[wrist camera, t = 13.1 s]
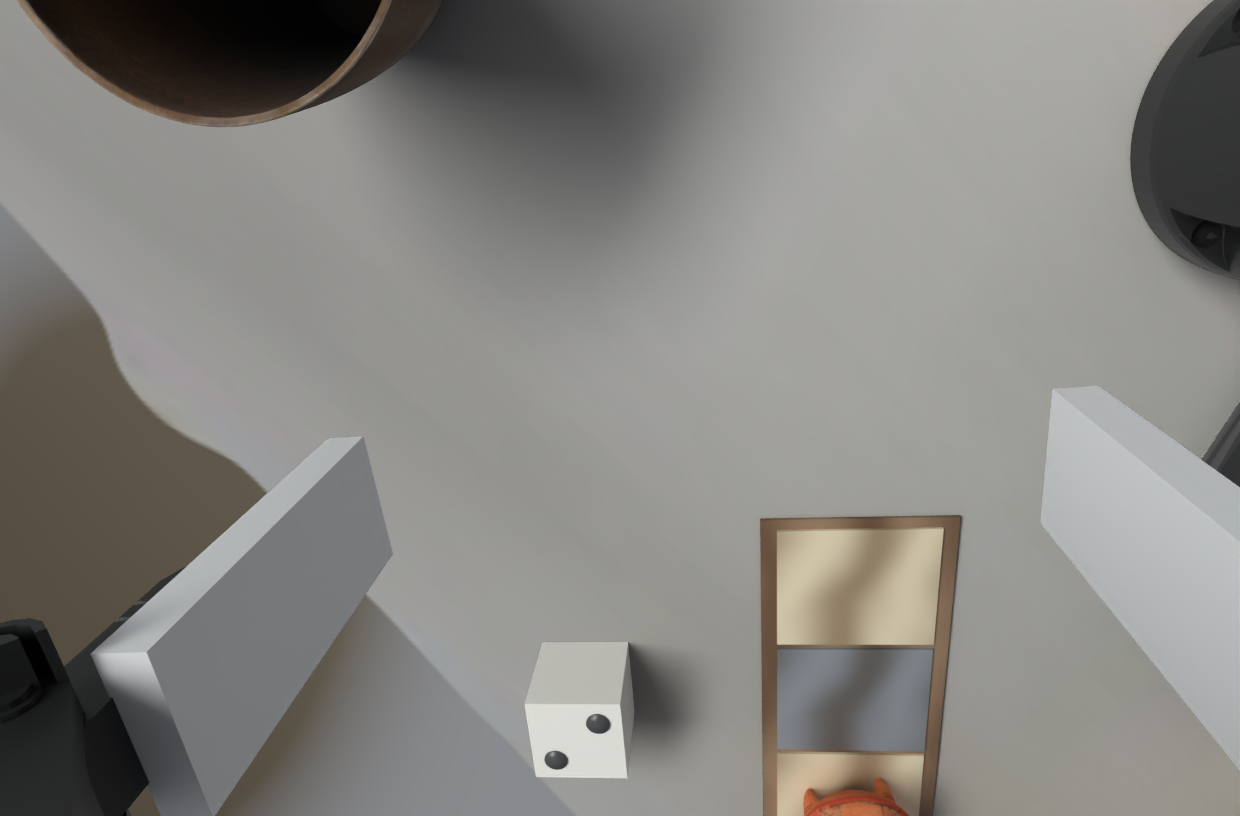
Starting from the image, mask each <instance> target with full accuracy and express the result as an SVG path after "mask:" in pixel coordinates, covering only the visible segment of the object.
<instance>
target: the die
mask: <svg viewBox="0 0 1240 816" xmlns="http://www.w3.org/2000/svg"><path fill="white" fill-rule="evenodd" d="M525 709H526V716H527V722H528V728H529V735H530V741H531V748H532V754H533V760H534V767H535V773H536V777H574V778H628V769H629V760H630V750H631V741H632V731H633V722H634V712H635V710H634V699H633V689H632V678H631V667H630V656H629V646H628V642H564V643H542V646H541V649H540V653H539V656H538V660H537V663H536V666H535V670H534V673H533V677H532V680H531V684H530V687H529V691H528V694H527V698H526V701H525Z"/></svg>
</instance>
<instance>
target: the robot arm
mask: <svg viewBox="0 0 1240 816" xmlns="http://www.w3.org/2000/svg"><path fill="white" fill-rule="evenodd" d="M1130 160H1131V175H1132V182H1133V187H1134V192H1135V195H1136V198H1137V202H1138V204H1139V207H1140V209H1141V211H1142V213H1143V215H1144V217H1145V219H1146V221H1147V223H1148V224H1149V226H1150V227H1151V229H1152V230H1153V231H1154V233H1155V234H1156V235H1157V236H1158V238H1159V239H1160V240H1161V241H1162V242H1163V243H1164V244H1165V245H1166V246H1167V247H1169V248H1170V249H1171V250H1172V251H1173V252H1175V253H1176V254H1177V255H1179V256H1180V257H1182V258H1184V259H1185V260H1187V261H1189V262H1191V263H1193V264H1195V265H1197V266H1199V267H1202V268H1204V269H1207V270H1210V271H1213V272H1216V273H1219V274H1222V275H1225V276H1228V277H1231V278H1235V279H1238V280H1240V0H1214V1H1213V2H1211V3H1210V4H1209V5H1208V6H1207V7H1206V8H1204V9H1203V10H1202V11H1201V12H1200V13H1199V14H1198V15H1197V16H1196V17H1195V18H1194V19H1193V20H1192V21H1191V22H1190V23H1189V24H1188V26H1187V27H1186V28H1185V29H1184V30H1183V31H1182V32H1181V34H1180V35H1179V36H1178V37H1177V38H1176V40H1175V41H1174V42H1173V44H1172V45H1171V46H1170V48H1169V49H1168V51H1167V52H1166V54H1165V55H1164V57H1163V58H1162V60H1161V61H1160V63H1159V65H1158V66H1157V68H1156V70H1155V72H1154V73H1153V75H1152V77H1151V79H1150V81H1149V83H1148V86H1147V88H1146V90H1145V93H1144V95H1143V97H1142V100H1141V103H1140V106H1139V109H1138V112H1137V116H1136V120H1135V124H1134V129H1133V134H1132V142H1131V157H1130ZM1040 523H1041V524H1042V526H1043V527H1044V528H1045V529H1046V531H1047V532H1048V533H1049V534H1050V535H1051V537H1052V538H1053V539H1054V540H1055V542H1056V543H1057V544H1058V545H1059V547H1060V548H1061V549H1062V550H1063V552H1064V553H1065V554H1066V555H1067V557H1068V558H1069V559H1070V560H1071V562H1072V563H1073V564H1074V565H1075V567H1076V568H1077V569H1078V570H1079V571H1080V573H1081V574H1082V575H1083V576H1084V578H1085V579H1086V580H1087V581H1088V583H1089V584H1090V585H1091V586H1092V588H1093V589H1094V590H1095V591H1096V593H1097V594H1098V595H1099V596H1100V598H1101V599H1102V600H1103V601H1104V603H1105V604H1106V605H1107V606H1108V608H1109V609H1110V610H1111V611H1112V612H1113V614H1114V615H1115V616H1116V617H1117V619H1118V620H1119V621H1120V622H1121V624H1122V625H1123V626H1124V627H1125V629H1126V630H1127V631H1128V632H1129V634H1130V635H1131V636H1132V637H1133V639H1134V640H1135V641H1136V642H1137V644H1138V645H1139V646H1140V647H1141V648H1142V650H1143V651H1144V652H1145V653H1146V655H1147V656H1148V657H1149V658H1150V660H1151V661H1152V662H1153V663H1154V665H1155V666H1156V667H1157V668H1158V670H1159V671H1160V672H1161V673H1162V675H1163V676H1164V677H1165V678H1166V680H1167V681H1168V682H1169V683H1170V684H1171V686H1172V687H1173V688H1174V689H1175V691H1176V692H1177V693H1178V694H1179V696H1180V697H1181V698H1182V699H1183V701H1184V702H1185V703H1186V704H1187V706H1188V707H1189V708H1190V709H1191V711H1192V712H1193V713H1194V714H1195V716H1196V717H1197V718H1198V719H1199V720H1200V722H1201V723H1202V724H1203V725H1204V727H1205V728H1206V729H1207V730H1208V732H1209V733H1210V734H1211V735H1212V737H1213V738H1214V739H1215V740H1216V742H1217V743H1218V744H1219V745H1220V747H1221V748H1222V749H1223V750H1224V752H1225V753H1226V754H1227V755H1228V756H1229V758H1230V759H1231V760H1232V761H1233V763H1234V764H1235V765H1236V766H1237V768H1238V769H1239V770H1240V403H1239V404H1238V406H1237V407H1236V409H1235V410H1234V412H1233V413H1232V415H1231V416H1230V418H1229V419H1228V421H1227V422H1226V424H1225V425H1224V427H1223V428H1222V430H1221V431H1220V433H1219V434H1218V436H1217V437H1216V439H1215V440H1214V442H1213V443H1212V445H1211V446H1210V448H1209V449H1208V451H1207V452H1206V454H1205V455H1204V457H1203V458H1202V460H1201V459H1200V458H1198V457H1197V456H1195V455H1194V454H1193V453H1191V452H1190V451H1188V450H1187V449H1186V448H1184V447H1183V446H1181V445H1180V444H1179V443H1177V442H1176V441H1174V440H1173V439H1172V438H1170V437H1169V436H1167V435H1166V434H1165V433H1163V432H1162V431H1160V430H1159V429H1158V428H1156V427H1155V426H1153V425H1152V424H1151V423H1149V422H1148V421H1147V420H1145V419H1144V418H1142V417H1141V416H1140V415H1138V414H1137V413H1135V412H1134V411H1133V410H1131V409H1130V408H1128V407H1127V406H1126V405H1124V404H1123V403H1121V402H1120V401H1119V400H1117V399H1116V398H1114V397H1113V396H1112V395H1110V394H1109V393H1107V392H1106V391H1105V390H1103V389H1102V388H1100V387H1099V386H1088V387H1074V388H1059V389H1053V391H1052V402H1051V412H1050V423H1049V434H1048V445H1047V456H1046V467H1045V478H1044V489H1043V500H1042V511H1041V522H1040ZM392 554H393V552H392V548H391V544H390V540H389V537H388V533H387V529H386V525H385V521H384V517H383V513H382V509H381V505H380V501H379V497H378V493H377V489H376V485H375V481H374V477H373V473H372V469H371V465H370V461H369V457H368V453H367V449H366V445H365V441H364V437H363V436H361V437H347V438H332V439H327V440H326V441H325V442H324V443H323V444H321V445H320V446H319V447H318V448H317V449H316V450H315V451H314V452H313V453H312V454H310V455H309V456H308V457H307V458H306V459H305V460H304V461H303V462H302V463H300V464H299V465H298V466H297V467H296V468H295V469H294V470H293V471H292V472H291V473H289V474H288V475H287V476H286V477H285V478H284V479H283V480H282V481H281V482H280V483H278V484H277V485H276V486H275V487H274V488H273V489H272V490H271V491H270V492H268V493H267V494H266V495H265V496H264V497H263V498H262V499H261V500H260V501H259V502H258V503H256V504H255V505H254V506H253V507H252V508H251V509H250V510H249V511H248V512H246V513H245V514H244V515H243V516H242V517H241V518H240V519H239V520H238V521H236V523H234V524H233V525H232V526H231V527H230V528H229V529H228V530H227V531H225V532H224V533H223V534H222V535H221V536H220V537H219V538H218V539H217V540H215V541H214V542H213V543H212V544H211V545H210V546H209V547H208V548H207V549H206V550H205V551H204V552H203V553H201V554H200V555H199V556H198V557H197V558H196V559H195V560H193V561H192V562H191V563H190V564H189V565H187V566H185V567H184V568H182V569H180V570H179V571H177V572H175V573H173V574H172V575H170V576H168V577H167V578H165V579H163V580H161V581H160V582H159V583H158V584H156V585H155V586H154V587H153V588H152V589H151V590H150V591H149V592H147V593H146V594H145V595H144V596H143V597H142V598H141V599H140V600H138V605H133V606H132V607H131V608H129V609H128V610H127V611H126V612H125V613H124V614H123V615H122V616H121V617H119V619H120V620H119V622H114V623H113V624H111V625H110V626H109V627H108V628H107V629H106V630H105V631H104V632H103V633H101V634H100V635H99V636H98V637H97V638H96V639H95V640H93V641H92V642H91V643H90V644H89V645H88V646H87V647H86V648H84V650H82V651H81V652H80V653H79V654H78V655H77V656H75V658H73V659H72V660H71V661H70V662H69V663H68V664H66V665H65V666H63V664H62V662H61V659H60V657H59V655H58V653H57V651H56V648H55V646H54V644H53V642H52V639H51V637H50V635H49V633H48V631H47V628H46V627H45V625H44V623H43V622H42V621H39V620H35V619H20V620H11V621H7V622H4V623H0V816H131V814H130V812H129V809H128V808H129V807H130V806H131V804H132V803H133V802H134V801H135V799H136V798H137V797H138V796H139V795H140V793H141V792H142V791H143V790H144V788H145V787H146V786H147V785H148V787H149V790H150V792H151V794H152V797H153V799H154V801H155V803H156V806H157V808H158V810H159V812H160V815H161V816H215V815H216V813H217V812H218V810H219V809H220V807H221V806H222V804H223V803H224V801H225V800H226V798H227V797H228V795H229V794H230V793H231V791H232V790H233V788H234V787H235V785H236V784H237V782H238V781H239V779H240V778H241V776H242V775H243V774H244V772H245V771H246V769H247V768H248V766H249V765H250V763H251V762H252V760H253V759H254V757H255V756H256V754H257V753H258V751H259V750H260V748H261V747H262V746H263V744H264V743H265V741H266V740H267V738H268V737H269V735H270V734H271V732H272V731H273V729H274V728H275V726H276V725H277V723H278V722H279V721H280V719H281V718H282V716H283V715H284V713H285V712H286V710H287V709H288V707H289V706H290V704H291V703H292V701H293V700H294V699H295V697H296V696H297V694H298V693H299V691H300V690H301V688H302V687H303V685H304V684H305V682H306V681H307V679H308V678H309V676H310V675H311V674H312V672H313V671H314V669H315V668H316V666H317V665H318V663H319V662H320V660H321V659H322V657H323V656H324V654H325V653H326V651H327V650H328V649H329V647H330V646H331V644H332V643H333V641H334V639H335V638H336V637H337V635H338V634H339V632H340V631H341V629H342V628H343V626H344V625H345V623H346V622H347V620H348V619H349V617H350V616H351V614H352V613H353V612H354V610H355V609H356V607H357V606H358V604H359V603H360V601H361V600H362V598H363V597H364V596H365V594H366V593H367V591H368V590H369V588H370V587H371V585H372V584H373V582H374V581H375V579H376V578H377V576H378V575H379V573H380V572H381V571H382V569H383V568H384V566H385V565H386V563H387V562H388V560H389V559H390V557H391V556H392Z"/></svg>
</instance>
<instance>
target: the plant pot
mask: <svg viewBox="0 0 1240 816" xmlns="http://www.w3.org/2000/svg"><path fill="white" fill-rule="evenodd" d="M442 1H443V0H17V2H18V3H19V5H20V6H21V8H22V9H23V10H24V11H25V13H26V14H27V15H28V17H29V18H30V19H31V21H32V22H33V23H34V25H35V26H36V27H37V28H38V30H39V31H40V32H41V33H42V34H43V35H44V36H45V38H46V39H47V40H48V41H49V42H50V43H51V44H52V45H53V46H54V47H55V48H56V49H57V50H58V51H59V52H60V53H61V54H62V55H63V56H64V57H65V58H66V59H67V60H68V61H69V62H71V63H72V64H73V65H74V66H75V67H76V68H77V69H79V70H80V71H81V72H83V73H84V74H85V75H87V76H88V77H89V78H91V79H92V80H93V81H95V82H96V83H97V84H99V85H100V86H102V87H103V88H104V89H106V90H108V91H109V92H111V93H113V94H114V95H116V96H117V97H119V98H121V99H123V100H125V101H127V102H128V103H130V104H132V105H134V106H136V107H138V108H141V109H143V110H145V111H148V112H150V113H153V114H156V115H159V116H162V117H164V118H167V119H171V120H175V121H179V122H183V123H187V124H192V125H200V126H209V127H238V126H246V125H253V124H259V123H263V122H268V121H271V120H274V119H278V118H281V117H284V116H287V115H290V114H293V113H296V112H299V111H302V110H305V109H308V108H311V107H314V106H317V105H319V104H322V103H325V102H327V101H330V100H332V99H334V98H337V97H339V96H341V95H344V94H346V93H348V92H350V91H352V90H354V89H356V88H358V87H359V86H361V85H363V84H365V83H367V82H368V81H370V80H372V79H373V78H375V77H376V76H378V75H379V74H381V73H382V72H384V71H385V70H387V69H388V68H390V67H391V66H392V65H394V64H395V63H396V62H397V61H399V60H400V59H401V58H402V57H403V56H404V55H405V54H406V53H407V52H409V51H410V50H411V49H412V48H413V47H414V45H415V44H416V43H417V42H418V41H419V40H420V39H421V38H422V36H423V35H424V34H425V32H426V31H427V30H428V28H429V27H430V25H431V23H432V22H433V20H434V18H435V17H436V15H437V13H438V11H439V9H440V6H441V4H442Z"/></svg>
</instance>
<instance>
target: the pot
mask: <svg viewBox="0 0 1240 816" xmlns="http://www.w3.org/2000/svg"><path fill="white" fill-rule="evenodd" d="M803 807H804V816H909V815H908V814H907V813H906V812H905V811H904V810H903V809H902V808H900V807H899V806H897V805H896V803H895V800H894V798H893V796H892V794H891V791H890V790H889V788H888V786H887V785H886V784H885V783H884V782H883V780H882V779H880V778H876V779H875V790H874V793H872V792H868V791H862V790H843V791H838V792H835V793H832V794H830V795H828V796H826V797H825V798H823V799H822V800H821V801H819V800H818V799H817V798H816V797H815V796H814V794H813V792H812V790H811V789H807V790H806V792H805V794H804V801H803Z"/></svg>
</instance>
